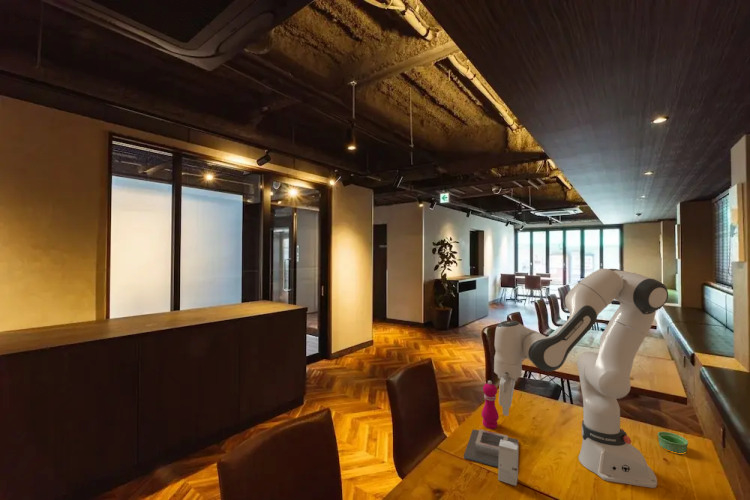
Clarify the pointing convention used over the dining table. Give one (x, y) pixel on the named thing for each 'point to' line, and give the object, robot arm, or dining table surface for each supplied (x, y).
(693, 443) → the dining table surface
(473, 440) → the ring block
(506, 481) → the skincare box
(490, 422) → the pepper mill
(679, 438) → the ramekin
